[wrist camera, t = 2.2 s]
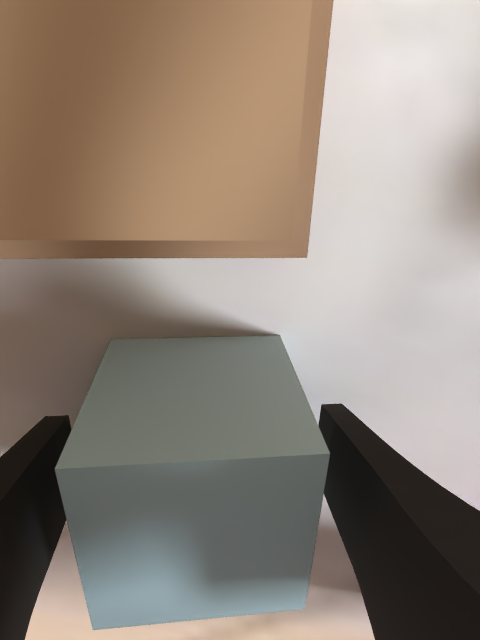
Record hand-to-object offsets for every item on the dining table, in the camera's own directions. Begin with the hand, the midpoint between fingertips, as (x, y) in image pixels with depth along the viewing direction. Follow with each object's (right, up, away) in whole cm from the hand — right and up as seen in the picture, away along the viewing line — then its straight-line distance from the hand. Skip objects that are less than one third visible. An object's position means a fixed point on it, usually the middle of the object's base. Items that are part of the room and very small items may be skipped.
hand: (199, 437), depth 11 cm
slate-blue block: (0, +1, +1) cm, 2 cm away
